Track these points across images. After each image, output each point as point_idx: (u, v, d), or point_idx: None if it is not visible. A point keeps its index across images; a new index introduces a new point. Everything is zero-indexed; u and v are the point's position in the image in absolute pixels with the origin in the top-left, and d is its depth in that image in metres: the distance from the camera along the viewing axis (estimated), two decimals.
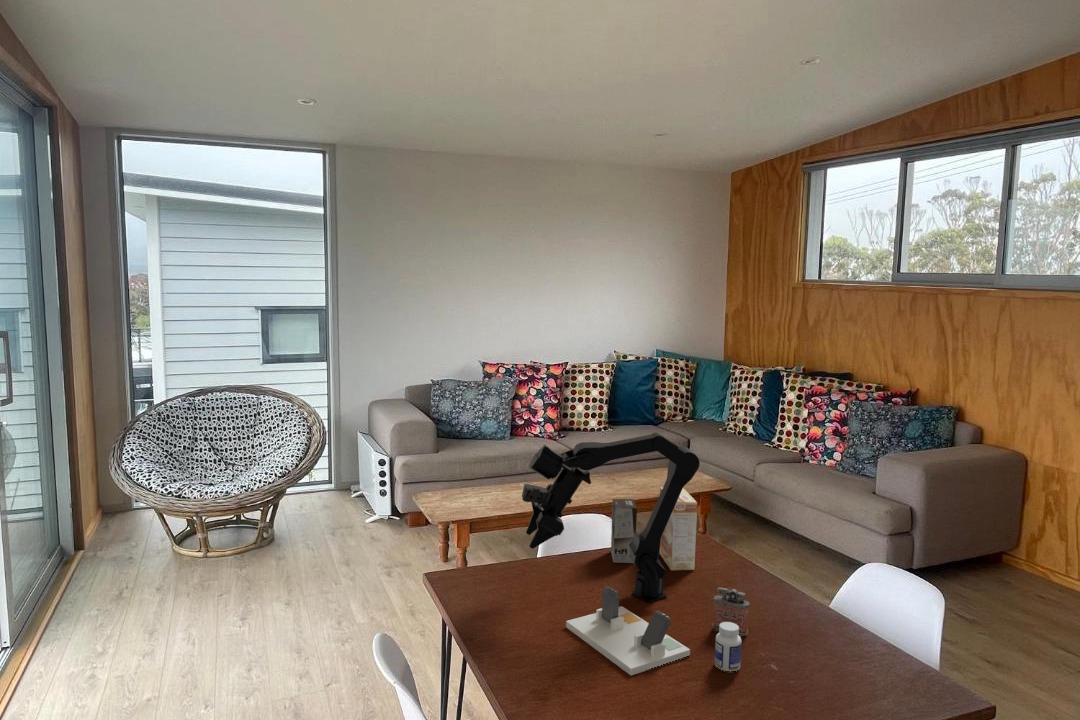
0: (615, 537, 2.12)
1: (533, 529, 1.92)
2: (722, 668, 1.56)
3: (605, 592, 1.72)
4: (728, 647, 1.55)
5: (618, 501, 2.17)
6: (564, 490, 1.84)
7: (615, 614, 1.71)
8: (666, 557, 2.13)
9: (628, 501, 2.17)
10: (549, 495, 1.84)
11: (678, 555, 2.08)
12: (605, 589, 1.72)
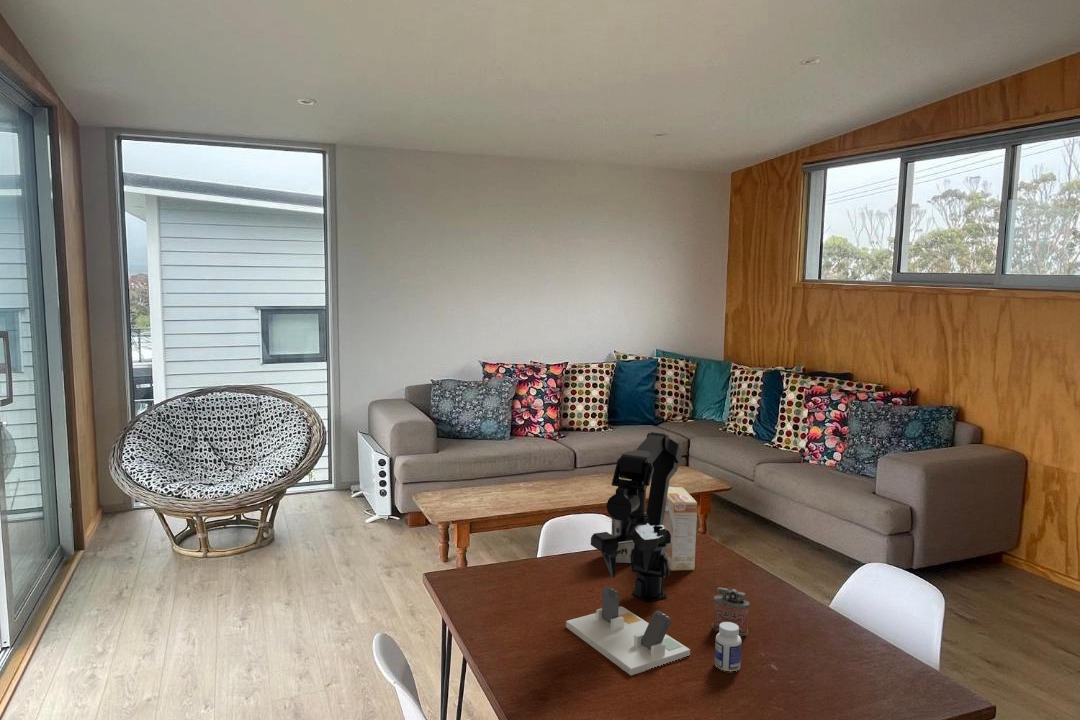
0: None
1: None
2: (722, 668, 1.56)
3: (605, 592, 1.72)
4: (728, 647, 1.55)
5: None
6: (644, 509, 1.72)
7: (615, 614, 1.71)
8: None
9: None
10: None
11: (678, 555, 2.08)
12: (605, 589, 1.72)
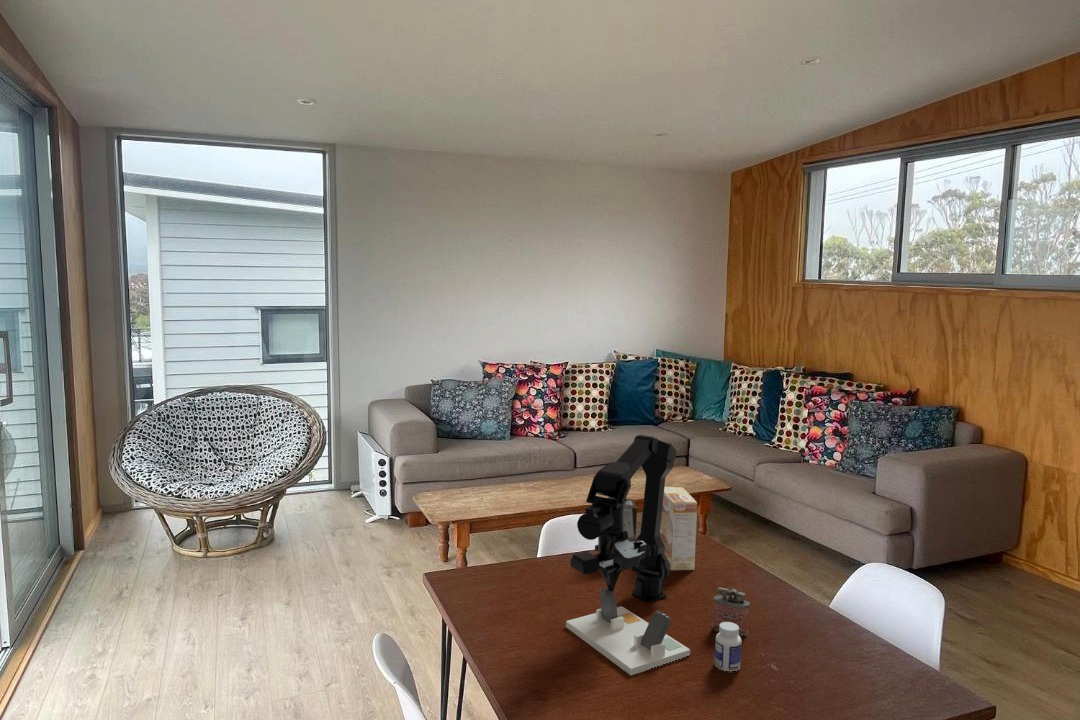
0: None
1: None
2: (722, 668, 1.56)
3: (602, 594, 1.72)
4: (728, 647, 1.55)
5: None
6: (621, 527, 1.68)
7: (614, 614, 1.71)
8: (666, 557, 2.13)
9: (628, 501, 2.17)
10: None
11: (678, 555, 2.08)
12: (602, 591, 1.72)
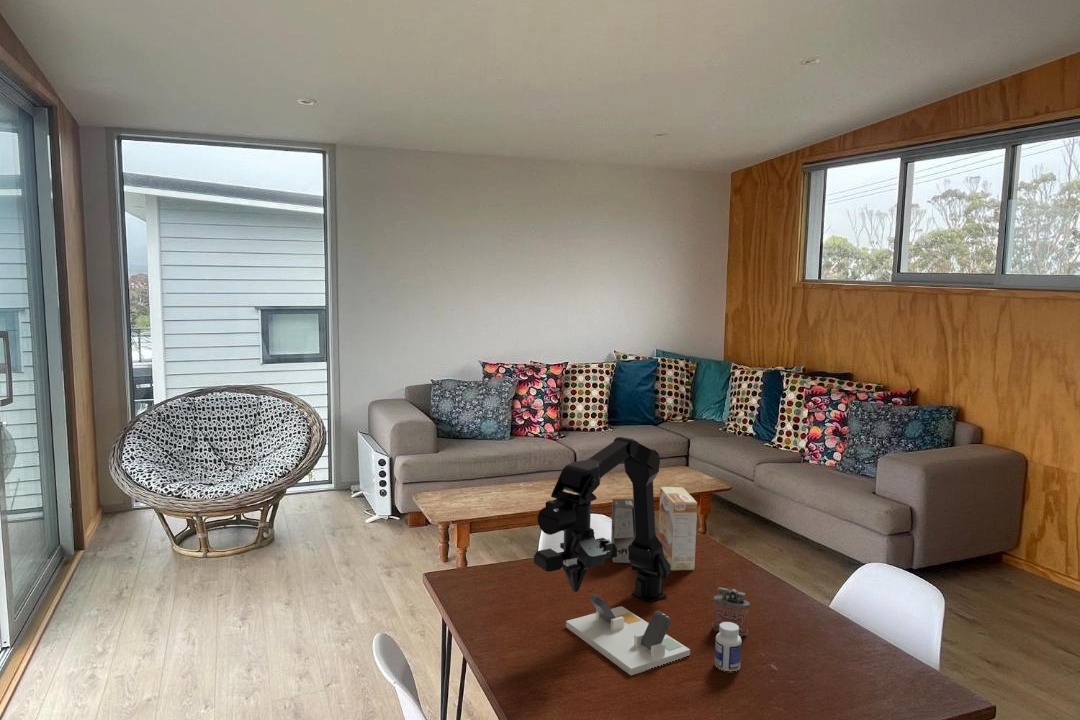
0: (615, 537, 2.12)
1: None
2: (722, 668, 1.56)
3: (593, 602, 1.71)
4: (728, 647, 1.55)
5: (618, 501, 2.17)
6: (586, 524, 1.63)
7: (611, 617, 1.70)
8: (666, 557, 2.13)
9: (628, 501, 2.17)
10: None
11: (678, 555, 2.08)
12: (591, 599, 1.71)
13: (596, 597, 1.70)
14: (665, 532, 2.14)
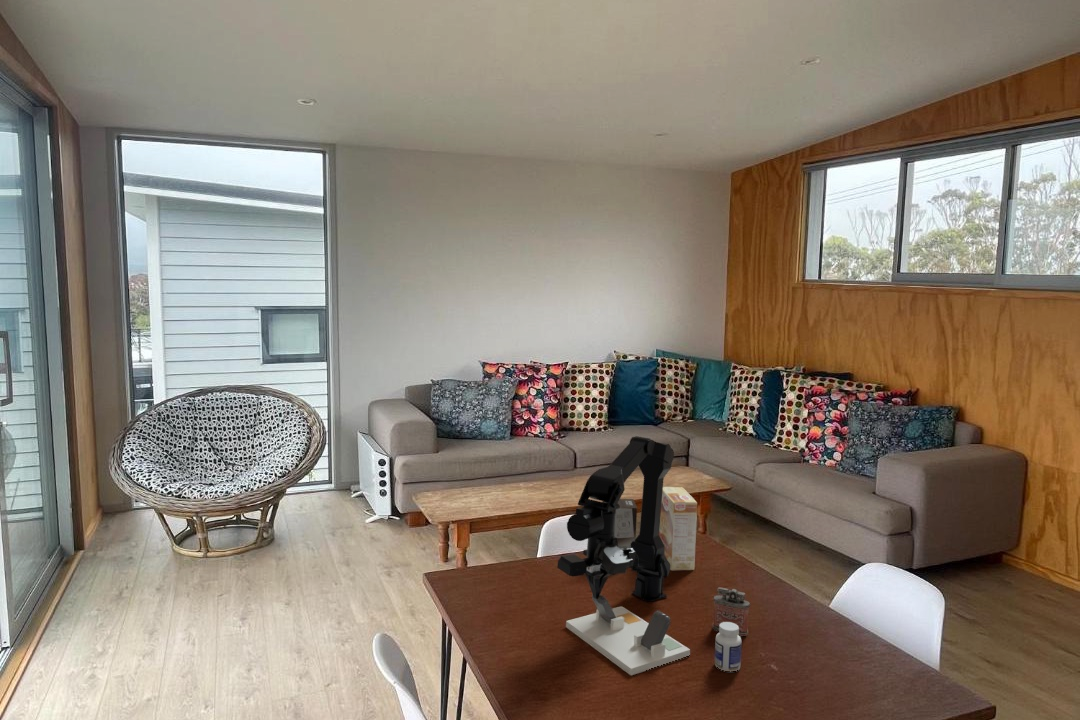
0: None
1: None
2: (722, 668, 1.56)
3: (594, 600, 1.71)
4: (728, 647, 1.55)
5: (618, 501, 2.17)
6: (612, 532, 1.67)
7: (611, 616, 1.70)
8: (666, 557, 2.13)
9: (628, 501, 2.17)
10: None
11: (678, 555, 2.08)
12: (593, 597, 1.71)
13: None
14: (665, 532, 2.14)
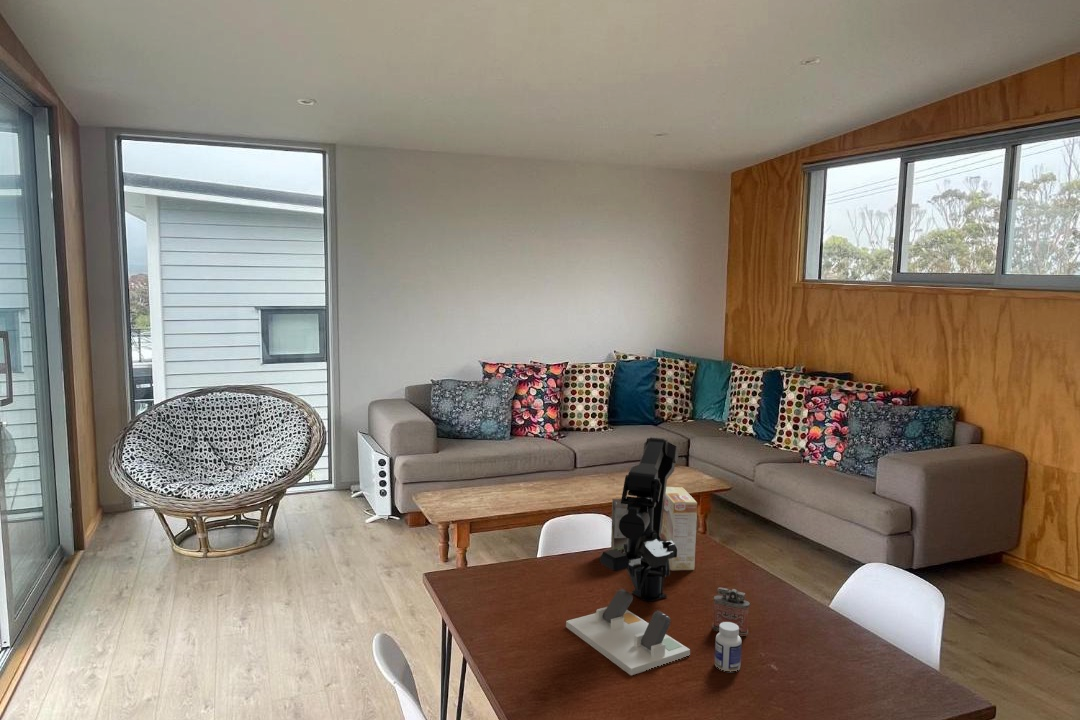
0: (615, 537, 2.12)
1: None
2: (722, 668, 1.56)
3: (620, 592, 1.75)
4: (728, 647, 1.55)
5: (618, 501, 2.17)
6: (652, 525, 1.73)
7: (620, 615, 1.72)
8: None
9: None
10: None
11: (678, 555, 2.08)
12: (621, 590, 1.75)
13: None
14: (665, 532, 2.14)
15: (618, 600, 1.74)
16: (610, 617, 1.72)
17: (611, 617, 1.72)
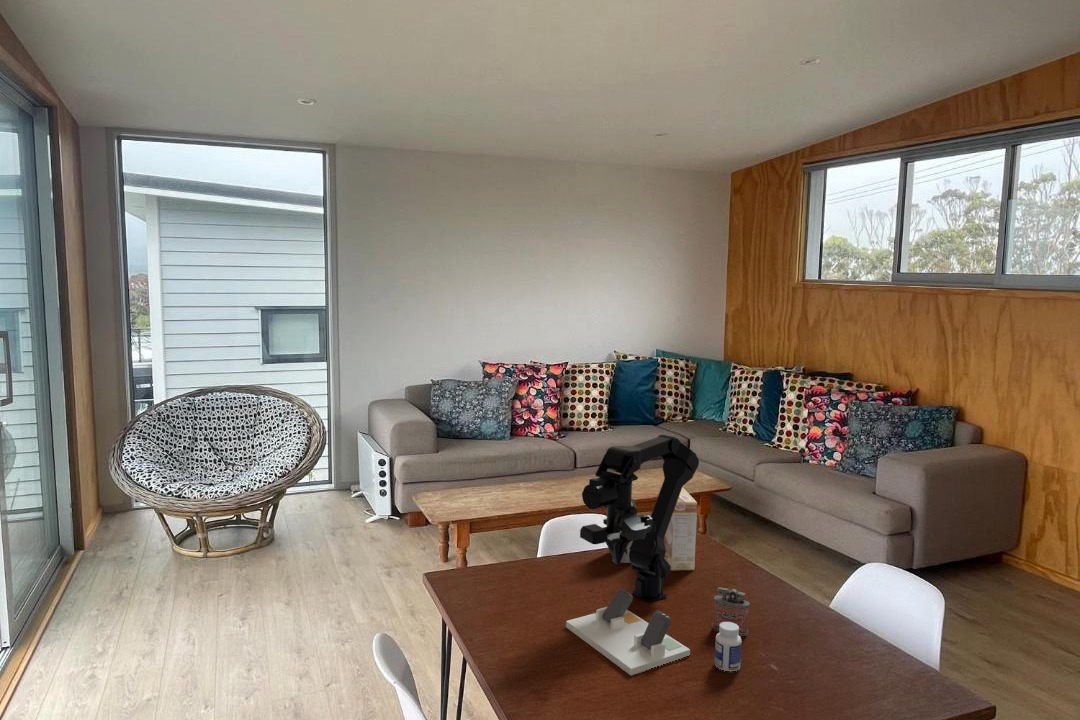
0: None
1: None
2: (722, 668, 1.56)
3: (620, 592, 1.75)
4: (728, 647, 1.55)
5: None
6: (628, 502, 1.77)
7: (620, 615, 1.72)
8: (666, 557, 2.13)
9: None
10: None
11: (678, 555, 2.08)
12: (621, 590, 1.75)
13: None
14: None
15: (618, 600, 1.74)
16: (610, 617, 1.72)
17: (611, 617, 1.72)
